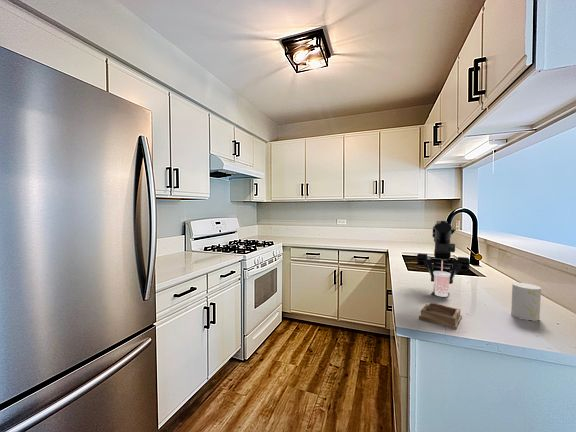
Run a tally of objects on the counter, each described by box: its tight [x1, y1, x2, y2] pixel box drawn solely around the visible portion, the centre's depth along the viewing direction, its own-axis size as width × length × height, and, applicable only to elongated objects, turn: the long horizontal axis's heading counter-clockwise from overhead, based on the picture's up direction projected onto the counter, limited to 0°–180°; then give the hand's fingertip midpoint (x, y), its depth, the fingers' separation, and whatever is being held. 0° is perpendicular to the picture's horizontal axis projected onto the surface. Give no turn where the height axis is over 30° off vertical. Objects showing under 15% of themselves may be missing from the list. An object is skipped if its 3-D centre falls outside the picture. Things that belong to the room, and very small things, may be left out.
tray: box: [418, 301, 463, 330], centre depth 99 cm, size 12×12×4 cm
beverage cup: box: [433, 260, 451, 298], centre depth 106 cm, size 6×6×14 cm
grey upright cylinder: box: [510, 282, 542, 322], centre depth 101 cm, size 8×8×12 cm
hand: (441, 279), depth 105 cm, fingers closed on beverage cup, 6 cm apart
